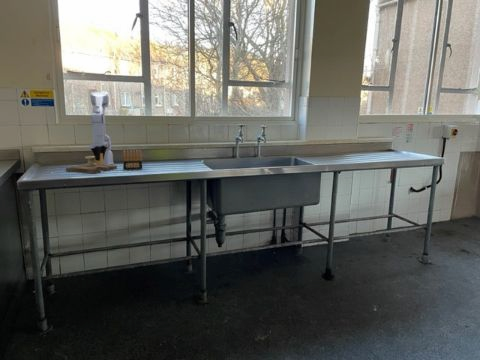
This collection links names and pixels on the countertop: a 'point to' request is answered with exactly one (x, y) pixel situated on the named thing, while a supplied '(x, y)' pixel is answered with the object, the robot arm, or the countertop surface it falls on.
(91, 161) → the mushroom shaped handle
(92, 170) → the notched board
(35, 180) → the countertop surface
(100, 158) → the block
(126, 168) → the ammunition clip
